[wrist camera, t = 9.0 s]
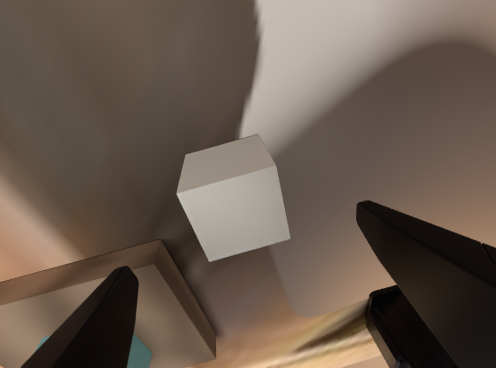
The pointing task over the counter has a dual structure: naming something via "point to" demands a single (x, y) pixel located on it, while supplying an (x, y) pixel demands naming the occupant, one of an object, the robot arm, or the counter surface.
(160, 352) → the walnut base
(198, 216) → the cream block
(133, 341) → the teal block
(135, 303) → the robot arm
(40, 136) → the counter surface
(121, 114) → the counter surface
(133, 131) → the counter surface
